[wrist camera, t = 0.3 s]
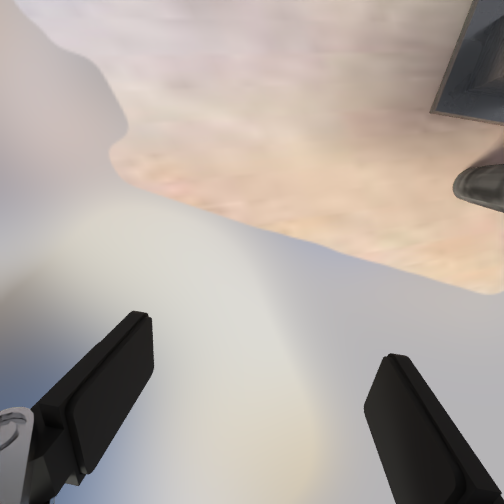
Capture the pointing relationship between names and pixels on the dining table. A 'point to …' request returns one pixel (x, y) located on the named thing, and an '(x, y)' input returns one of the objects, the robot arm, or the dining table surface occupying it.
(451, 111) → the stand
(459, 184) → the beverage cup
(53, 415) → the robot arm
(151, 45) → the dining table surface
